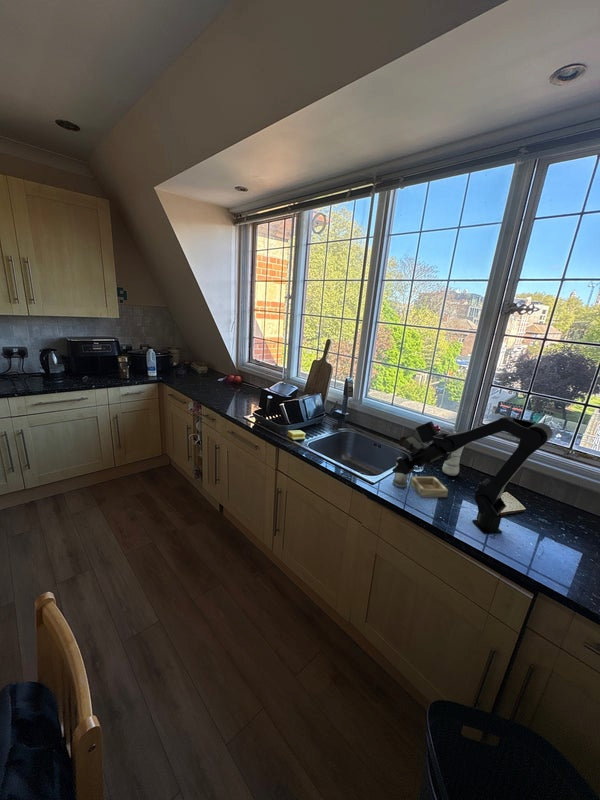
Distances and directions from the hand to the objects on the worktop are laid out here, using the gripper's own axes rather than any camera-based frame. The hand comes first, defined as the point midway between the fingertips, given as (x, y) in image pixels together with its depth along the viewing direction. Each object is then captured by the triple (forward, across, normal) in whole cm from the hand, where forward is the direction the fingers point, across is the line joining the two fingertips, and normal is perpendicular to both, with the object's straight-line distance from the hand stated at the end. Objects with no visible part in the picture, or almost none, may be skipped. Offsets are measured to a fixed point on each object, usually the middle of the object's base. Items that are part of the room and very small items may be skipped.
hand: (399, 468), depth 130 cm
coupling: (+4, 0, +6) cm, 7 cm away
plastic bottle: (-2, -27, +12) cm, 30 cm away
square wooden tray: (-2, -6, +12) cm, 14 cm away
